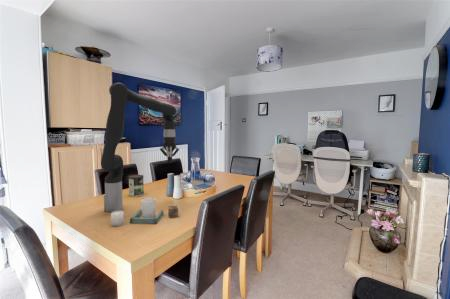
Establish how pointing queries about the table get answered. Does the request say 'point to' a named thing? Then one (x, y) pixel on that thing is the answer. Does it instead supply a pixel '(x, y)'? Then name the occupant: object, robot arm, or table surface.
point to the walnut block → (172, 211)
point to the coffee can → (136, 185)
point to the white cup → (148, 207)
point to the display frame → (136, 218)
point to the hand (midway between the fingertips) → (169, 162)
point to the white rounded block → (117, 218)
